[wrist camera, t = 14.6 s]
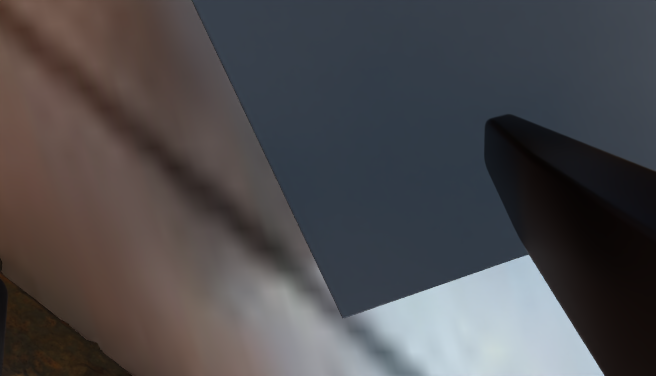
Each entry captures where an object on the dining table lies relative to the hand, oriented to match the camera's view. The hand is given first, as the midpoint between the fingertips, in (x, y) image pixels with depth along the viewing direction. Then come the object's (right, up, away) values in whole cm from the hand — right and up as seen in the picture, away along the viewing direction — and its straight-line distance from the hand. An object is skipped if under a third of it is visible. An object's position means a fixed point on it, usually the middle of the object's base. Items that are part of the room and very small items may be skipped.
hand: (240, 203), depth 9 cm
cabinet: (+5, +5, +11) cm, 13 cm away
